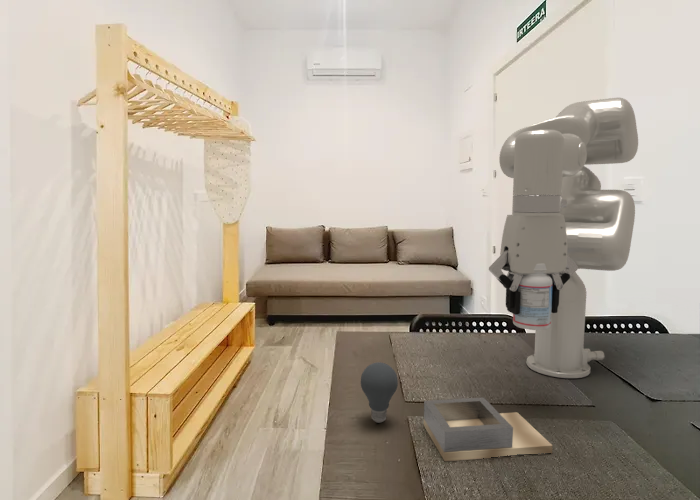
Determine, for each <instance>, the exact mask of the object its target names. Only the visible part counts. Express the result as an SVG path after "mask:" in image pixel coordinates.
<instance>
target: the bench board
mask: <svg viewBox="0 0 700 500" xmlns="http://www.w3.org/2000/svg"><path fill="white" fill-rule="evenodd" d="M498 413H499V412H498ZM499 414H500V415H501V416H502V417H503V418H504V419H505V420H506V421H507V422H508V423H509V424H510V425H511V426H512V427H513V442H512V448H500V449H486V450H472V451H459V452H445V453H444V451H443V449H442V448H441V446H440V444H439V443H438V441H437V439H436V438H435V436H434V434H433V433H432V431H431V429H430V428H429V426H428V424H427V423H426V421H425V420H424V419H423V427H424V429H425V430H426V432H427V434H428V435H429V438H431V439H430V440H432V442H433V444H434V445H435V447H436V450H438V453H439V454H440V456H441V457H442V459H443V461H444V462H454V461H455V462H456V461H467V460H468V461H470V460H480V459H481V460H482V459H483V458H484V459H492V458H491V457H498V456H499V457H498V458H501V457H500V456H507V455H508V456H509V455H517V454H538V453H540V454H538V455H542V454H541V453H544V454H543V455H546V454H545V453H551V454H553V444H552V443H551V442H549V441H548V440H547V438H546V437H544V436H543V435H542V434H541V433H540V432H539V431H538V430H537V429H535V428H534V427H533V426H532V424H531V423H529V421H527V419H525V418H524V417H523V416H522V415H521V414H519V412H516V411H514V412H501V413H499ZM446 422H447V423H448V425H449V426H450V427H463V426H478V425H484V424H483V423H482V422H481V420H480V419H469V420H453V421H446ZM484 459H483V460H484Z"/></svg>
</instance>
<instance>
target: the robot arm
mask: <svg viewBox="0 0 700 500" xmlns="http://www.w3.org/2000/svg"><path fill="white" fill-rule="evenodd" d="M638 149H639V134H638V126H637V120H636V115H635V112H634V109H633V106H632V105H631V103H630V102H629V101H628V100H627V99H625V98H623V97H612V98H611V97H610V98H602V99H601V98H600V99H592V100H591V99H590V100H584V101H578V102H573V103H571V104H569V105H567V106H565V107H564V108H563V109H562V110H561V111H560V112H558V114H557V115H556V116H555V117H552V118H548V119H546V120H543V121H540V122H537V123H534V124H532V125H528V126H524V127H522V128H519V129H518V130H516V131H514V132H513V133H512V134H510V135H509V136H508V137H507V139H505V141H504V143H503V144H502V146H501V149H500V152H499V167H500V169H501V172H502V173H503V174H504V175H505V176H506V177H507V178H509V179H510V178H511V179H513V185H512V206H511V207H512V210H511V211H512V212H511V213H512V214H507V216H506V218H505V222H504V227H503V231H502V237H501V244H500V255H499V257H497V258H496V260H494V261H493V263H492V264H491V265H490V266H489V267H488V271H489V272H490V273H491V274H492V275H493V276H494V278H496V281H498V282H499V283H500V284H501V285H502V286H503V288H504V289H505V307H506V310H507V311H508V312H509V313H511V314H512V315H513V314H515V315H518V314H519V313H520V291H517V288H518V286H519V283H520V281H521V279H522V276H523V275H530V274H534V273H536V272H534V268H535V266H536V264H545V266H546V269H547V270H545V271H546V272H543V273H545V274H547V275H549V276H550V277H551V279H552V310H551V326H550V327H549V328H548V329H545V330H534V332H535V335H534V337H535V338H534V354H530V355H528V356H527V358H526V363H525V364H526V365H527V368H530V369H531V370H532V371H534V372H537V373H539V374H542V375H545V376H548V377H553V378H554V377H555V378H561V379H581V378H585V377H588V376H589V375H590V374H591V366H590V364H588V363H589V362H591V361H592V360H593V361H603V360H604V359H605V352H604V351H603V350H592V351H591V349H590V348H584V347H585V346H584V345H585V343H584V342H585V326H586V307H587V306H586V305H587V288H586V285H585V283H584V281H583V280H582V278H581V277H580V276H579V275H578V273H577V271H578V270H580V269H581V270H593V271H608V272H609V271H611V272H612V271H618V270H621V269H622V268H624V266H625V265H626V264H627V261H628V259H629V256H630V251H631V246H632V245H631V244H632V238H633V233H634V232H633V231H634V225H635V219H636V215H635V214H636V204H635V201H634V198H633V195H631V193H629V192H628V191H626V190H623V189H602V183H601V181H600V178H599V177H598V176H597V175H596V174H595V173H594V172H593V171H591V169H590V168H588V167H587V166H591V165H610V164H611V165H612V164H623V163H628V162H631V161H632V160H633V159H634V158H635V157H636V155H637V152H638ZM585 165H586V166H585ZM503 271H506V272H507V275H506V274H505V273H504V272H503Z"/></svg>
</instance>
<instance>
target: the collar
mask: <svg viewBox="0 0 700 500" xmlns="http://www.w3.org/2000/svg"><path fill="white" fill-rule="evenodd" d="M423 403H424V404H423V408H424V409H423V421H424V420H425V421H426V423H427V424H428V426H429V428H430V429H431V431H432V433H433V434H434V436H435V438H436V439H437V441H438V443H439V444H440V446H441V448H442V449H443V451H444V453H445V452H459V451H472V450H486V449H500V448H512V442H513V427H512V426H511V425H510V424H509V423H508V422H507V421H506V420H505V419H504V418H503V417H502V416H501V415H500V414H499V411H498V410H497V409H495V407H494V406H493V405H492V404H491V403H490V402H489V401H488V400H487V399H486V398H485V397H484V396H483V397H468V398H454V399H453V398H452V399H451V398H449V399H433V400H424V401H423ZM469 419H480V420H481V422H482V423H483V424H484V425H478V426H463V427H450V426H449V425H448V423H447V422H446V421H453V420H469Z"/></svg>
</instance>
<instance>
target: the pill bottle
mask: <svg viewBox="0 0 700 500" xmlns="http://www.w3.org/2000/svg"><path fill="white" fill-rule="evenodd" d="M545 270H547V269H546V266H545V264H536V266H535V268H534V272H536V273H534V274H530V275H523V276H522V279H521V281H520V283H519V286H518V288H517V291H520V313H519V314H518V315H515V314H513V313H512V323H513V325H514V326H516V328H520V329H523V330H531V331H536V330H545V329H548V328H549V327H550V326H551V310H552V279H551V277H550V276H549V275H547V274H545V273H543V272H546V271H545Z"/></svg>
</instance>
